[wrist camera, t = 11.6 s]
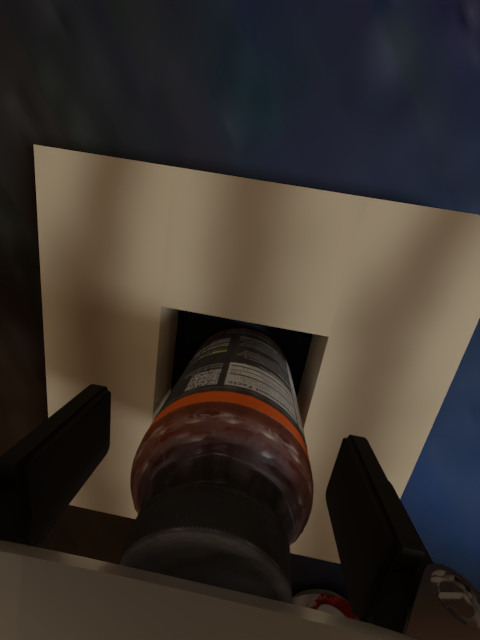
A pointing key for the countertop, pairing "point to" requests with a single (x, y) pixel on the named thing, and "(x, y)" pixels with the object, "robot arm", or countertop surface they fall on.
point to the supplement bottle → (224, 472)
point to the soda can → (324, 602)
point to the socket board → (251, 304)
